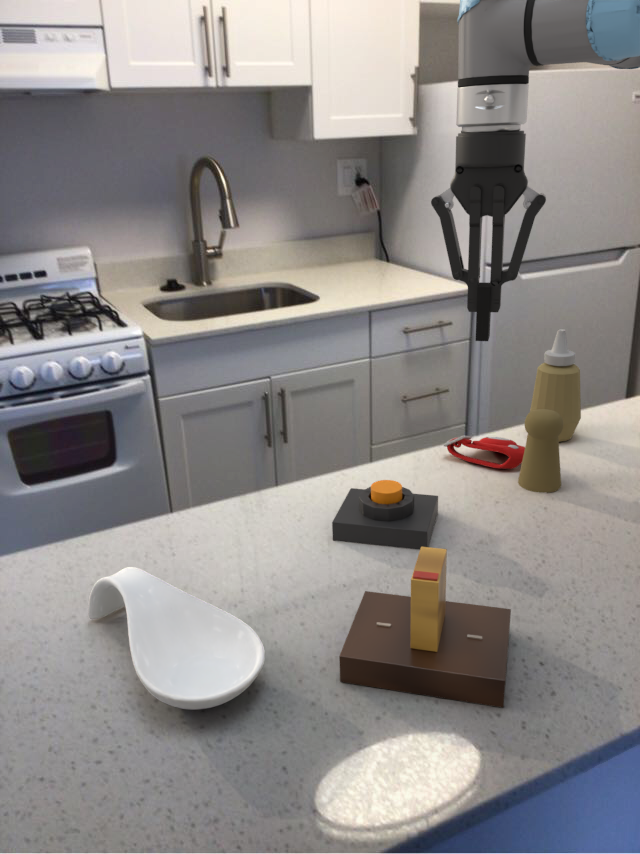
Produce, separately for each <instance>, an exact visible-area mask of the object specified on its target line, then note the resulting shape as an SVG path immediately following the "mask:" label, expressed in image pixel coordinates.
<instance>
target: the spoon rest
mask: <svg viewBox="0 0 640 854" xmlns="http://www.w3.org/2000/svg"><path fill="white" fill-rule="evenodd" d="M124 607H125V612H126V618H127V619H126V622H127V634H128V645H129V650H130V651H129V652H130V657H131V660H132V664H133V668H134V670H135V673H136V675H137V677H138V679H139V681H140V682H141V684H142V685H143V687H144V688H145V689H146V691H147V692H148V693H149V694H151V696H153V697H154V698H155V699H157V700H158V701H160V702H162V703H163V704H165V705H168V706H171V707H174V708H176V709H183V710H205V709H211V708H214V707H218V706H221V705H223V704H226V703H227V702H230V701H231V700H233V699H235V698H236V697H239V695H240V694H242V693H243V692H244V691H246V690H247V689H248V688H250V686H251V685H252V683H253V682H254V681H255V680H256V679H257V678H258V676H259V675H260V674H261V671H262V670H263V667H264V664H265V660H266V651H265V646H264V644H263V641H262V639H261V637H260V636H259V635H258V633H257V632H256V631H255V630H254V629H253V628H252V627H251V626H250V625H249V624H248V623H246V622H245V621H243V620H242V619H240V618H239V617H237V616H235V615H234V614H232V613H230V612H227V611H226V610H224V609H221V608H220V607H217V606H216V605H214V604H211V603H210V602H208V601H205V600H203V599H201V598H199V597H197V596H195V595H193V594H191V593H189V592H186V591H185V590H184V589H183V590H182V589H180V588H179V587H176V586H175V585H172V584H170V583H169V582H167V581H165V580H163V579H162V578H159V577H157V576H155V575H154V574H152V573H150V572H148V571H146V570H144V569H142V568H139V567H136V566H127V567H123V568H122V569H120V570H119V571H117V572H115V573H114V574H111V575H108V576H103V577H101V578H99V579H98V580H97V581H96V582H95V583H94V585H93V586H92V589H91V590H90V593H89V597H88V603H87V617H88V618H89V620H98V619H102V618H104V617H107V616H109V615H111V614H113V613H114V612H116V611H118V610H121V609H123V608H124Z"/></svg>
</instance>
